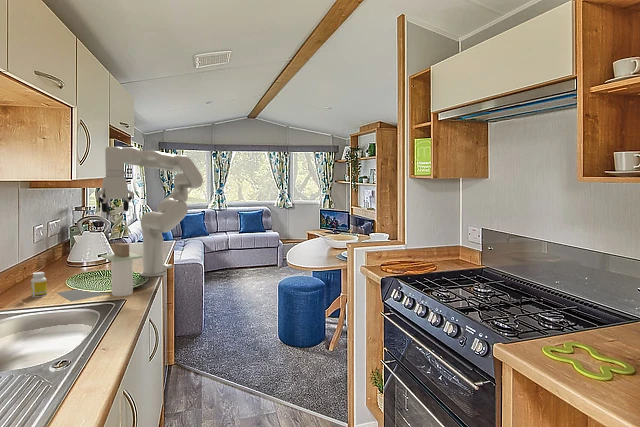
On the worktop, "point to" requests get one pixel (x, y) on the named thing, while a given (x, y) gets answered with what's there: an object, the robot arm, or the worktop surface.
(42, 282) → the supplement bottle
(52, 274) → the worktop surface
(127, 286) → the cup
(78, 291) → the mat
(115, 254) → the lid
